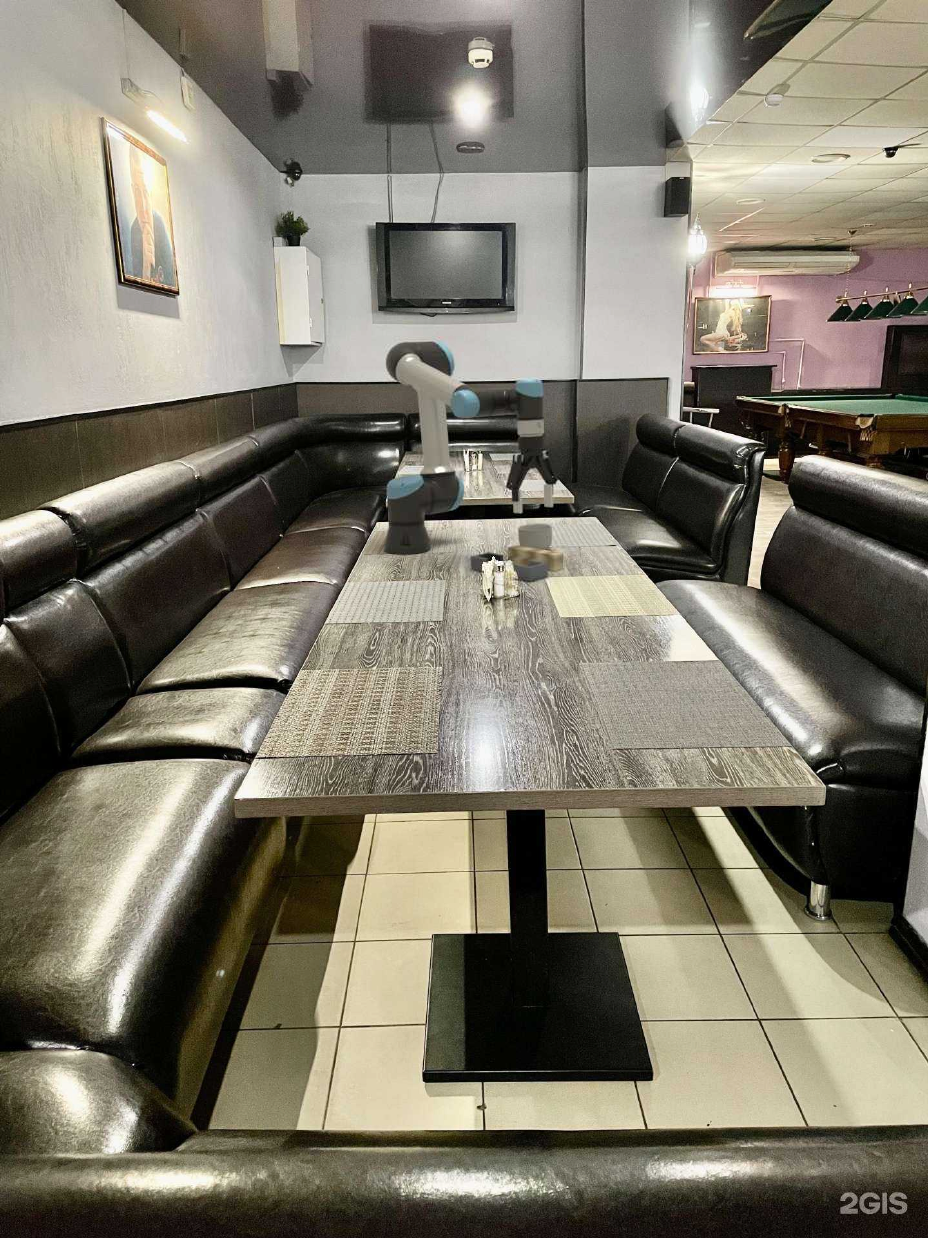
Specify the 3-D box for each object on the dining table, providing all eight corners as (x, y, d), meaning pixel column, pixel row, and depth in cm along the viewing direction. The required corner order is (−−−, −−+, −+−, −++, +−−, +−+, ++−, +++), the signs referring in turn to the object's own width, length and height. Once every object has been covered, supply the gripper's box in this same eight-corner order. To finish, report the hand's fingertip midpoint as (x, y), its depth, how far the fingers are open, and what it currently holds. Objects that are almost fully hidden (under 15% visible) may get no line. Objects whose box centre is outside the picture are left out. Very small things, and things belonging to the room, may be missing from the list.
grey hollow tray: (547, 577, 244) (548, 563, 243) (530, 582, 239) (530, 567, 238) (531, 573, 249) (531, 560, 247) (514, 578, 244) (513, 564, 242)
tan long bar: (507, 563, 263) (507, 547, 262) (516, 561, 266) (516, 545, 264) (554, 572, 251) (554, 555, 249) (563, 569, 254) (563, 552, 252)
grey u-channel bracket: (471, 569, 255) (470, 556, 254) (488, 565, 260) (488, 552, 259) (485, 572, 251) (485, 559, 250) (503, 568, 256) (503, 554, 255)
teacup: (553, 553, 273) (553, 528, 271) (518, 554, 273) (518, 529, 271) (549, 544, 286) (549, 520, 284) (516, 545, 287) (516, 521, 284)
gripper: (511, 438, 238) (514, 516, 243) (569, 432, 255) (570, 504, 260) (491, 438, 243) (494, 514, 248) (549, 432, 260) (551, 503, 265)
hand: (533, 509), depth 254 cm, fingers open, 13 cm apart
